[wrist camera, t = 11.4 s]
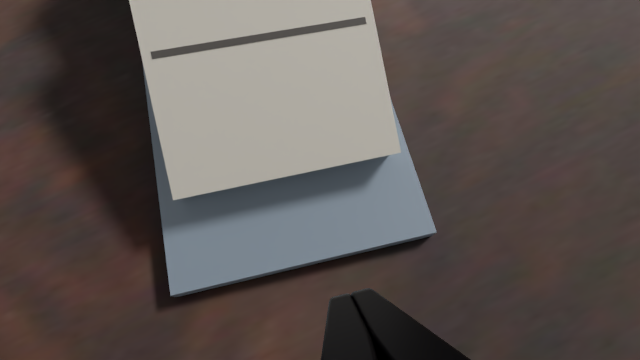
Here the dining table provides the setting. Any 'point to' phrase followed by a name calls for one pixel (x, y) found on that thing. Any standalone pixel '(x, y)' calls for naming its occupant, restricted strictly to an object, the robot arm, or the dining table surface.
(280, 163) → the domino
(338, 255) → the board
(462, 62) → the dining table surface
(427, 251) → the dining table surface
